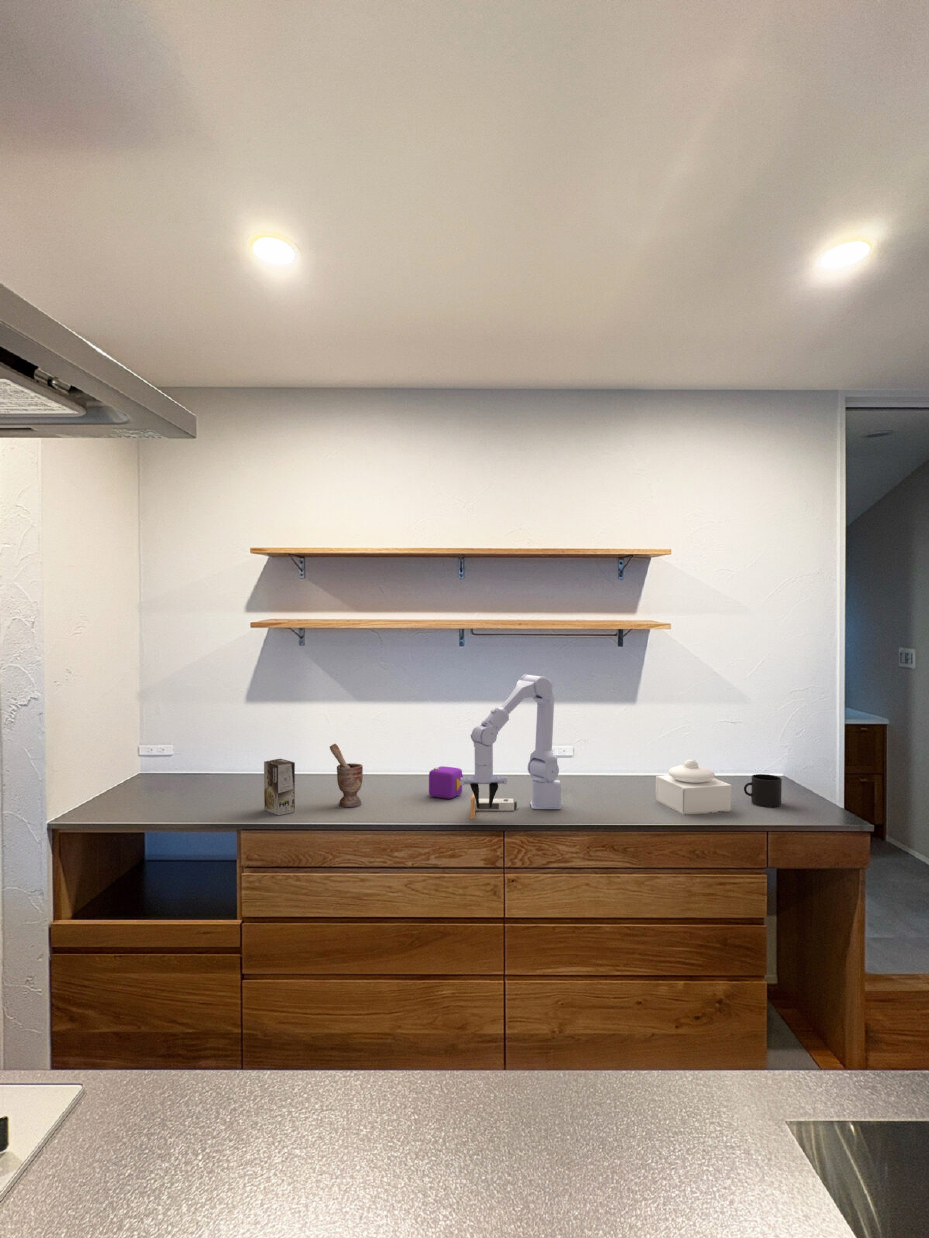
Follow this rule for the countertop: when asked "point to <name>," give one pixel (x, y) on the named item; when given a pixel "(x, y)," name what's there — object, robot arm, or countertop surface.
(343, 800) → the mortar and pestle
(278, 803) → the coffee box
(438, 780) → the toy camera
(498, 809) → the cream tapered panel
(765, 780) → the mug
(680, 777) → the butter dish
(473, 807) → the side door
